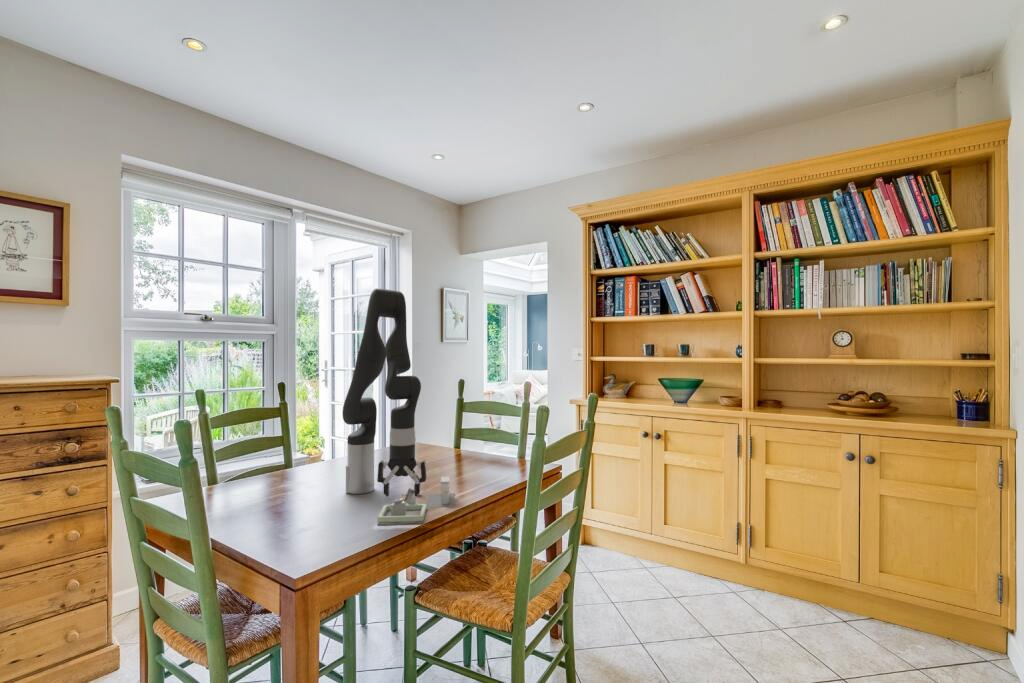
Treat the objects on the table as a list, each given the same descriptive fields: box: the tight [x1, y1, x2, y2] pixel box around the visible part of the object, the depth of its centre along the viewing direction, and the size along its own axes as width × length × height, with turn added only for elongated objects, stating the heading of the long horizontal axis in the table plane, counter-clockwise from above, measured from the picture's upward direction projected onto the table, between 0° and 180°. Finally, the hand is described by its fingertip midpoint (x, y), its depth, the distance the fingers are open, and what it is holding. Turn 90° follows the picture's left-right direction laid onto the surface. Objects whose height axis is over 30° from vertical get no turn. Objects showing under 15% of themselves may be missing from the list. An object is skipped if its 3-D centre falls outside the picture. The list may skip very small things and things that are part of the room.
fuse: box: [440, 476, 451, 503], centre depth 161 cm, size 3×6×7 cm, turn 5°
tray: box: [376, 503, 427, 527], centre depth 147 cm, size 13×11×2 cm
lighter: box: [390, 487, 415, 516], centre depth 147 cm, size 7×2×8 cm, turn 125°
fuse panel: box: [399, 483, 456, 509], centre depth 161 cm, size 18×14×5 cm
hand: (401, 495), depth 147 cm, fingers open, 8 cm apart
